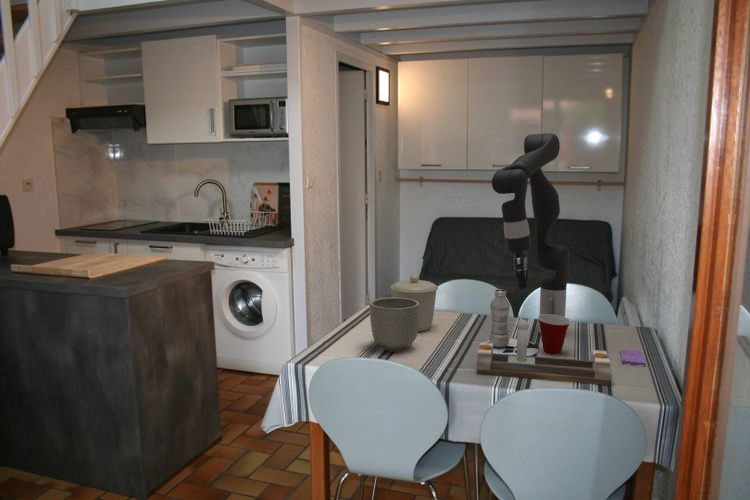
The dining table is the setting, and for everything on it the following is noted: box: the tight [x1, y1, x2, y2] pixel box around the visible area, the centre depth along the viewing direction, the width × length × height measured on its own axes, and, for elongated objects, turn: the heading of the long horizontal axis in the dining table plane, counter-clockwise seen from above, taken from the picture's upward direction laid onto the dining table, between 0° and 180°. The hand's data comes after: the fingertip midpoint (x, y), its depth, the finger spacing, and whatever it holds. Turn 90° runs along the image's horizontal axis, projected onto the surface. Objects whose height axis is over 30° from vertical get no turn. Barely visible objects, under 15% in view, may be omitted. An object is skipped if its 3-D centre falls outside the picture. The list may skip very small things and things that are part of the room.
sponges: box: [619, 349, 646, 367], centre depth 201 cm, size 7×13×2 cm, turn 161°
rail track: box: [476, 341, 611, 386], centre depth 188 cm, size 12×38×7 cm, turn 75°
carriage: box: [508, 318, 535, 365], centre depth 189 cm, size 6×8×15 cm
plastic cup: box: [537, 314, 572, 356], centre depth 207 cm, size 11×11×12 cm
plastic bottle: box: [489, 288, 511, 348], centre depth 213 cm, size 6×7×20 cm
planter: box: [369, 296, 420, 352], centre depth 212 cm, size 17×17×16 cm
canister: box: [390, 274, 439, 333], centre depth 235 cm, size 18×18×21 cm
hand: (524, 284), depth 193 cm, fingers open, 8 cm apart
